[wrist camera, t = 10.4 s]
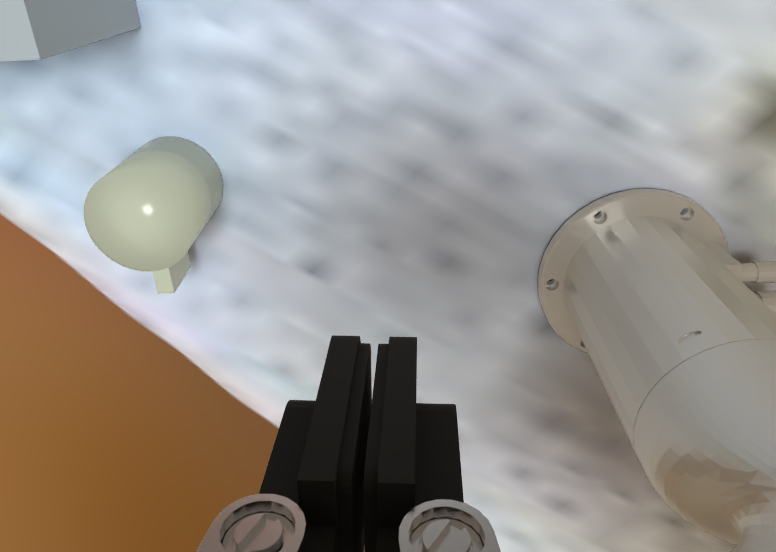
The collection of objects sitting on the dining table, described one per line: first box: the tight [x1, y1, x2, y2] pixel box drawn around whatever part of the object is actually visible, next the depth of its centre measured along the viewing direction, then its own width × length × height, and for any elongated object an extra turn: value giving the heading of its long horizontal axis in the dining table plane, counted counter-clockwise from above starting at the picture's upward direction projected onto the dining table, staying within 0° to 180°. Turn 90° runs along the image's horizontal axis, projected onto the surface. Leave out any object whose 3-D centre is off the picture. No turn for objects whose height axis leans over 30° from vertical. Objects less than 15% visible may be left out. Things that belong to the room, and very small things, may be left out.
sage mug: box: [84, 136, 223, 294], centre depth 39 cm, size 6×8×7 cm
